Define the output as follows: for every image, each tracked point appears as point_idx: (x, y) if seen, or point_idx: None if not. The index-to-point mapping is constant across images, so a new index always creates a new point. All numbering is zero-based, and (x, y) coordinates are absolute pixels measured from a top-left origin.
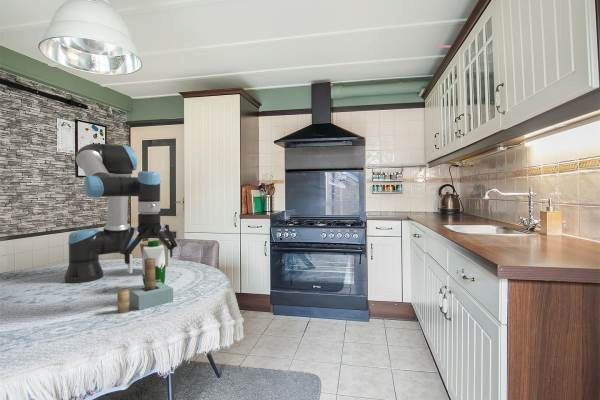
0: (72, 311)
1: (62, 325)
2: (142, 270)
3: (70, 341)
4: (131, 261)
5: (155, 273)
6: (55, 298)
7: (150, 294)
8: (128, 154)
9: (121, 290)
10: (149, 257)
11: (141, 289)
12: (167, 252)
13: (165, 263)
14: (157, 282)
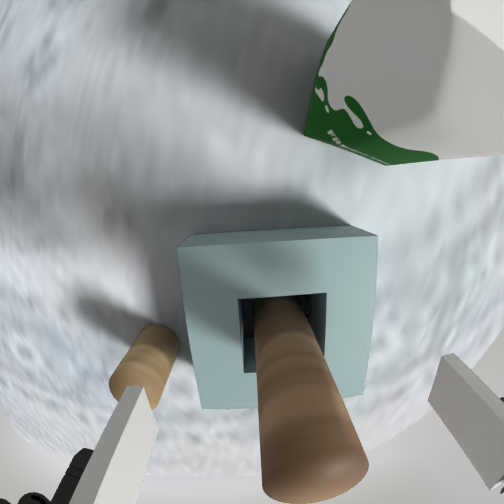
0: (23, 211)
1: (18, 324)
2: (329, 60)
3: (59, 424)
4: (130, 499)
5: (395, 155)
6: (26, 28)
7: (254, 404)
8: None
9: (125, 378)
10: (438, 106)
11: (237, 326)
12: (486, 463)
13: (449, 366)
14: (361, 240)
